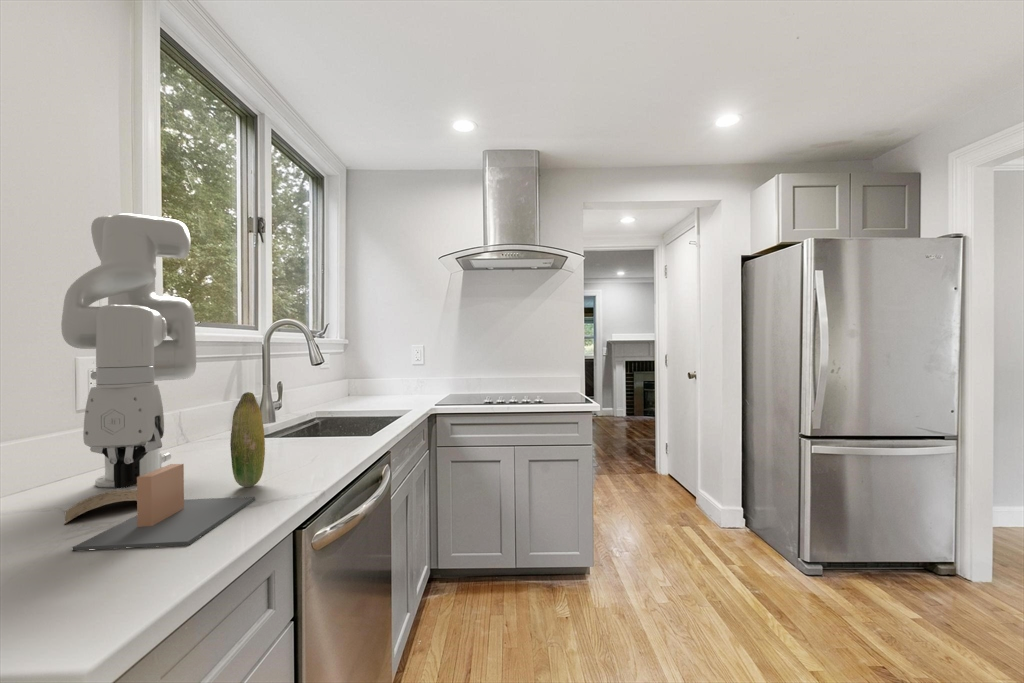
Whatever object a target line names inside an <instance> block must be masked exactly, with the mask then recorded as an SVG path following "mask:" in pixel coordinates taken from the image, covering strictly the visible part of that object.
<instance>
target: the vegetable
mask: <svg viewBox="0 0 1024 683" xmlns="http://www.w3.org/2000/svg"><path fill="white" fill-rule="evenodd" d="M229 445H230V457H231V469H232V470H231V471H232V474H233V477H234V481H235V482H236V483H237V485H239V486H241V487H243V488H251V487H254V486H255V485H257V484H258V483H259V481H260V480H261V478H262V475H263V473H264V465H265V457H266V449H265V448H266V440H265V429H264V424H263V417H262V410H261V408H260V405H259V404H258V402H257V398H256V396H255V394H254V393H253V392H249V391H246V392H244V393H243V394H242V395H241V397H240V399H239V401H238V403H237V405H236V406H235V408H234V411H233V414H232V422H231V431H230V443H229Z"/></svg>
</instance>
